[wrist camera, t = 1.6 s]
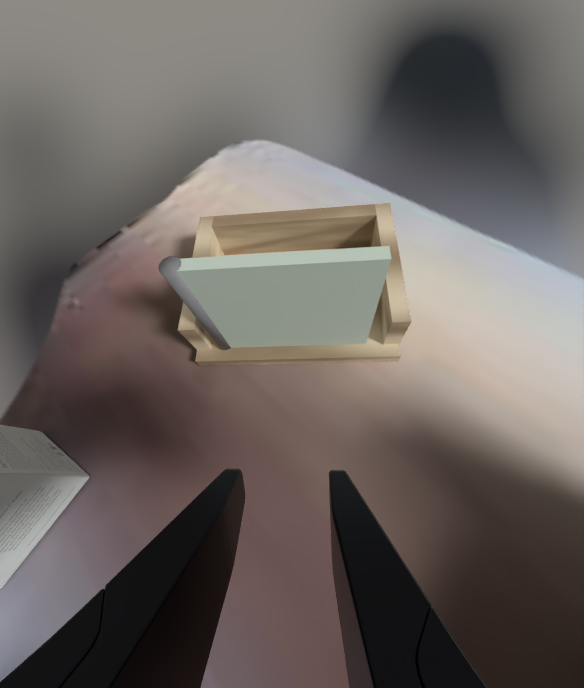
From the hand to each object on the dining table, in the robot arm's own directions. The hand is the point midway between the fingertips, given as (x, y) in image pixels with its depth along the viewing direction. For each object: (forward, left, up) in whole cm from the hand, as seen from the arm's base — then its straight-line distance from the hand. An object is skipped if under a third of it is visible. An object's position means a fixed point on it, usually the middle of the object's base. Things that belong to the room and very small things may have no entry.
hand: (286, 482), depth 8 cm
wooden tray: (+9, +12, -14) cm, 20 cm away
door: (+5, +8, -12) cm, 16 cm away
